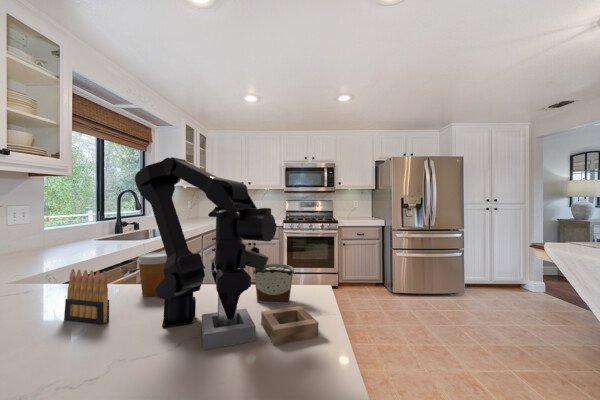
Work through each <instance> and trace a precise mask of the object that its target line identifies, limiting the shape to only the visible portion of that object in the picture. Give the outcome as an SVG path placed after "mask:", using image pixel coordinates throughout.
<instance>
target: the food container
mask: <svg viewBox="0 0 600 400" xmlns="http://www.w3.org/2000/svg"><path fill="white" fill-rule="evenodd" d="M252 275H254V281H255V293H256V303H265V304H266V303H267V304H282V305H289V304H290V300H291V290H292V281H293V275H294V277H295V276H296V275H295V270H294V268H293V266H291V265H289V264H282V263H267V264H266V267H265V269H264V271H259V270H258V269H256V268H253V269H252Z"/></svg>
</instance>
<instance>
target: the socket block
mask: <svg viewBox="0 0 600 400" xmlns="http://www.w3.org/2000/svg"><path fill="white" fill-rule="evenodd" d="M217 325H218V311H217V312H209V313H202V314H201V336H202V348H203V351H206V350H211V349H213V350H214V349H218V347H219V348H223V347H228V346H235V345H240V344H244V343H251V342H255V341H256V325H255V322H254V321H253V319H252V317H251V315H250V313H249V311H248V309H247V308H239V309H237V325H231V326H225V327H218V328H217Z"/></svg>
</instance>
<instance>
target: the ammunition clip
mask: <svg viewBox="0 0 600 400" xmlns="http://www.w3.org/2000/svg"><path fill="white" fill-rule="evenodd" d="M69 274H70V275H69V277H68V278H69V280H68V286H67V297H66V298H65V301H64V303H65V304H64V316H63V321H64V322H72V323H81V324H90V325H98V326H99V325H100V326H101V325H105V324H107V323H108V322H110V299H109V287H108V276H107V273H106V271H105V270H104V271H103V272H102V274H101V272H100V271H99V270H97V271H96V273H94V270H93V269H92V270H90V271H89V273H88V271H87V269H85V270H84V271H83V273H82V271H81V269H80V268H79V269H78V270H77V271H75V269H74V268H73V269H71V271H70V273H69Z"/></svg>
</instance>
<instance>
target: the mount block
mask: <svg viewBox="0 0 600 400" xmlns="http://www.w3.org/2000/svg"><path fill="white" fill-rule="evenodd" d="M260 313H261V314H260V315H261V316H260V325H261V327H262V329H263V330H264V331H265V333H266V335H267V337H268V338H269V340H270V343H271V345H273V346H276V345H282V344H287V343H292V342H293V343H294V342H297V341H302V340H308V339H313V338H317V337H319V324H320V323H319V322H318V320H317V319H315V318H314V317H313V316H312V315H311V314H310V313H309V312H308V311H306V310H305V308H303V307H302V305H299V306H291V307H283V308H277V309H270V310H262V311H261V312H260Z"/></svg>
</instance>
